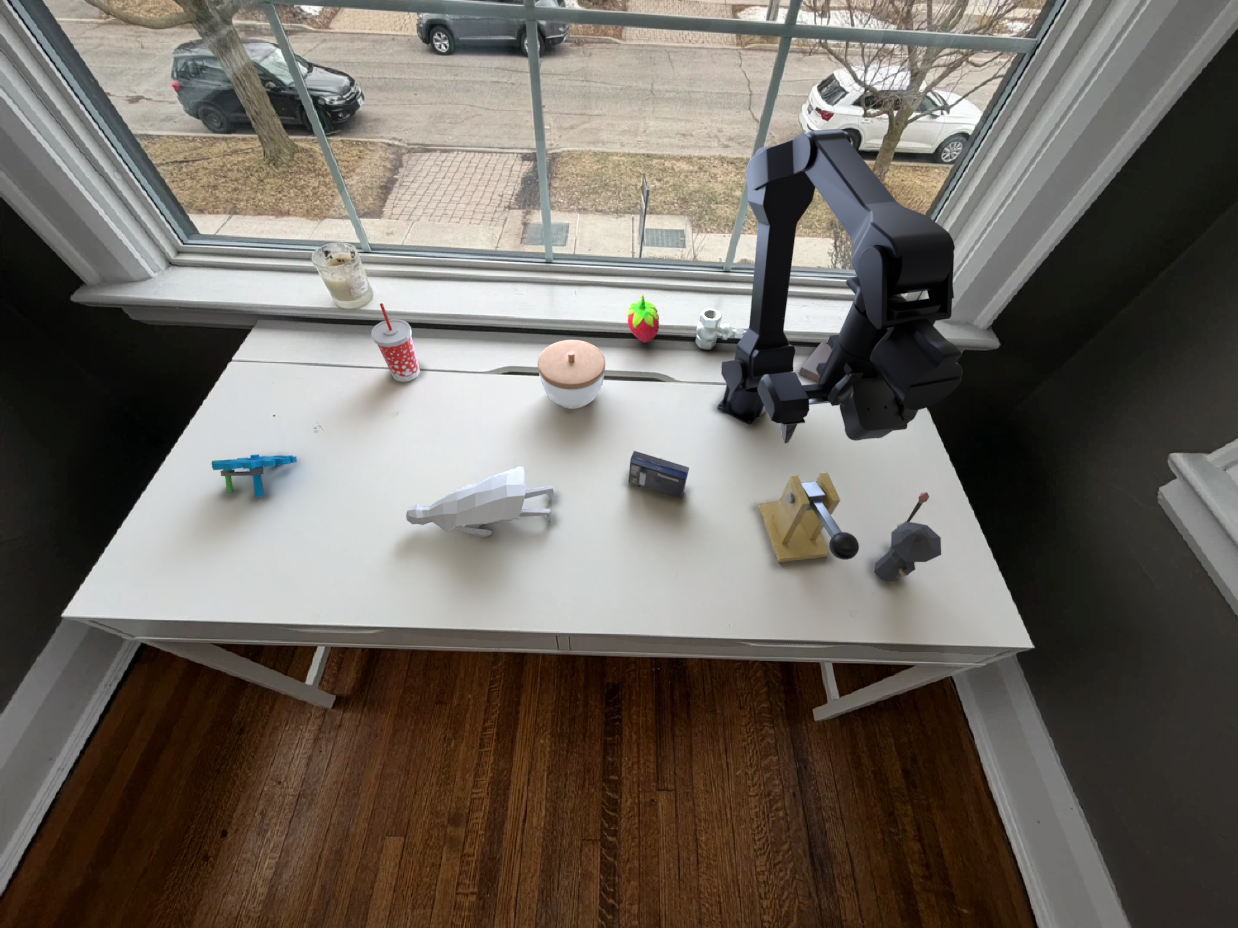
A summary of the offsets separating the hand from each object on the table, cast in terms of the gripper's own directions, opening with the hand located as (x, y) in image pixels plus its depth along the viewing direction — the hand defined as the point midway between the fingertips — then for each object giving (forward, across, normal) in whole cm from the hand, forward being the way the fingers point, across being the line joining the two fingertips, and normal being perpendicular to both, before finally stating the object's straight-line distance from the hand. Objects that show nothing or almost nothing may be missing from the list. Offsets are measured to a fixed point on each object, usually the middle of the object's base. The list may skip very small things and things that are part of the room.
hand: (818, 437), depth 71 cm
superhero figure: (+13, -45, +2) cm, 47 cm away
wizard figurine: (+13, +9, -13) cm, 20 cm away
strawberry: (+13, -16, +37) cm, 42 cm away
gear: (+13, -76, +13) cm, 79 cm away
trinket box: (+13, -30, +25) cm, 41 cm away
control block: (+13, +18, +24) cm, 33 cm away
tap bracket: (+13, -2, -6) cm, 15 cm away
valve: (+13, 0, +34) cm, 36 cm away
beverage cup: (+13, -58, +34) cm, 68 cm away
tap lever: (+4, -2, -11) cm, 12 cm away
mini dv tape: (+13, -20, +4) cm, 24 cm away
